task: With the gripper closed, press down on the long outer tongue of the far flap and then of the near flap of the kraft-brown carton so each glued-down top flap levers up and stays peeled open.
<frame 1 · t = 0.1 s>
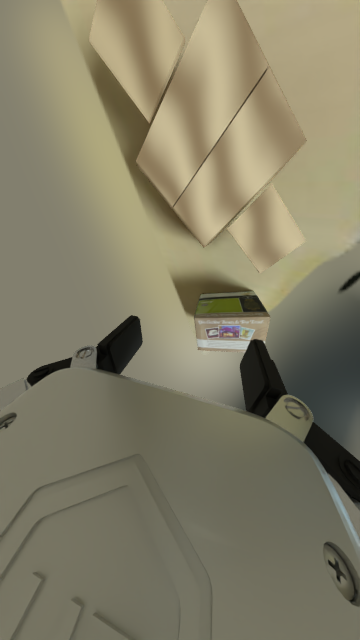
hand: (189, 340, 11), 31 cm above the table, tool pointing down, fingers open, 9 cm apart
carton: (214, 183, 28), on the table
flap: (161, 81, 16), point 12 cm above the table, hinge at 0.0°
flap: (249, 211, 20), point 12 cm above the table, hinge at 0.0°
tea box: (226, 307, 42), on the table
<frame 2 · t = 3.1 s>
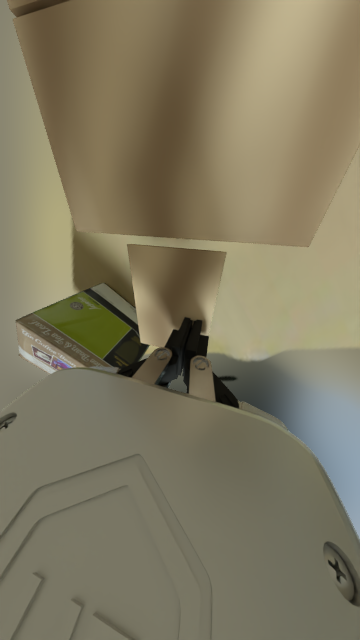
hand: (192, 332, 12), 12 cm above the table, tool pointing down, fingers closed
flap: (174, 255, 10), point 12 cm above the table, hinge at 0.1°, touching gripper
tea box: (125, 318, 31), on the table
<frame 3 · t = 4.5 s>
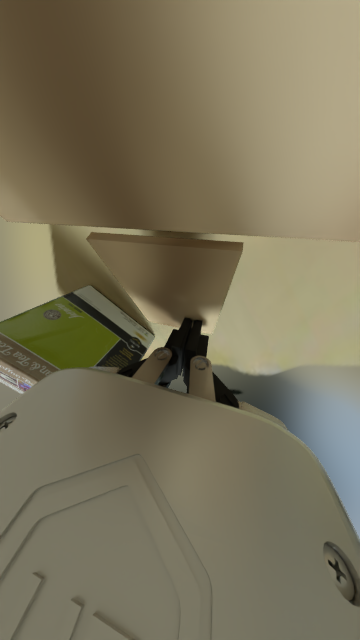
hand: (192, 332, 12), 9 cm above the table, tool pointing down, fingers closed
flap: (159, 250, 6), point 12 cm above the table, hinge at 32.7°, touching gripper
tea box: (117, 325, 28), on the table
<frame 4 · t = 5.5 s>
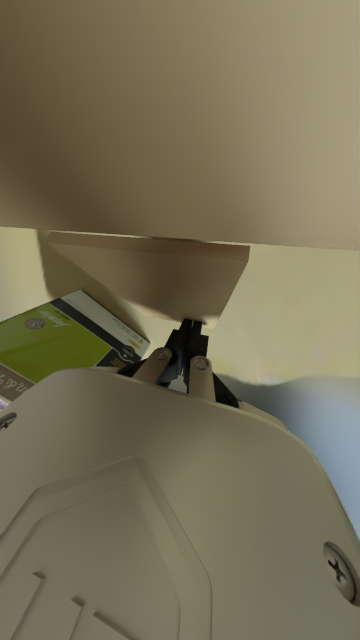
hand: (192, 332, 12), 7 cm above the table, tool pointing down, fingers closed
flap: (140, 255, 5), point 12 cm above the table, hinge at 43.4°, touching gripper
tea box: (110, 331, 26), on the table
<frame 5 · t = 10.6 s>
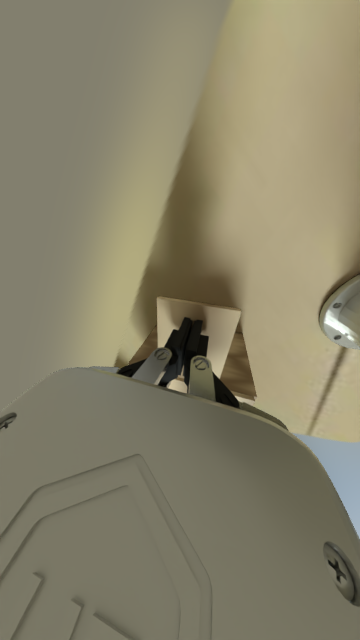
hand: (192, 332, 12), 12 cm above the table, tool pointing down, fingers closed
carton: (195, 354, 31), on the table
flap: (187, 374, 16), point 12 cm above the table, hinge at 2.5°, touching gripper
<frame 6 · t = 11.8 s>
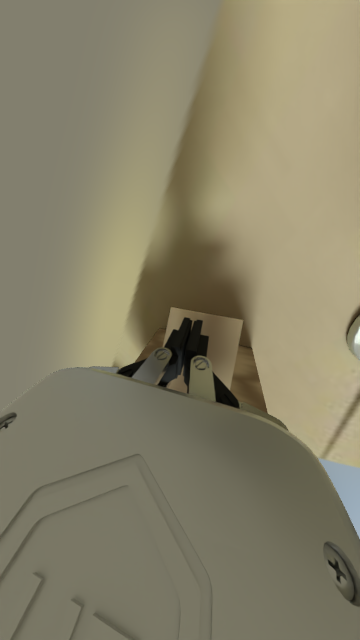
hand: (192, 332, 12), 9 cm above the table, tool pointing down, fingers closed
carton: (196, 367, 28), on the table
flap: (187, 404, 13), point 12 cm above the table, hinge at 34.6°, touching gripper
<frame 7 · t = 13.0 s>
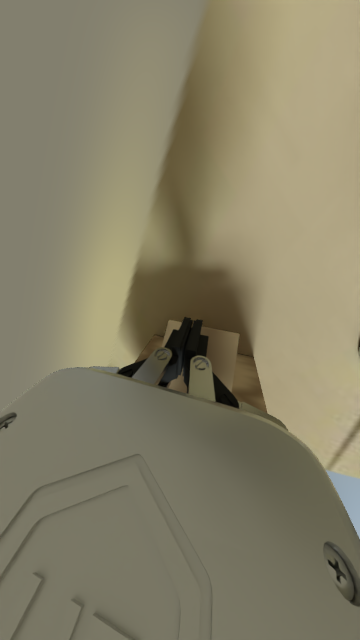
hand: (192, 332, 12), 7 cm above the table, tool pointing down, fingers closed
carton: (194, 376, 26), on the table
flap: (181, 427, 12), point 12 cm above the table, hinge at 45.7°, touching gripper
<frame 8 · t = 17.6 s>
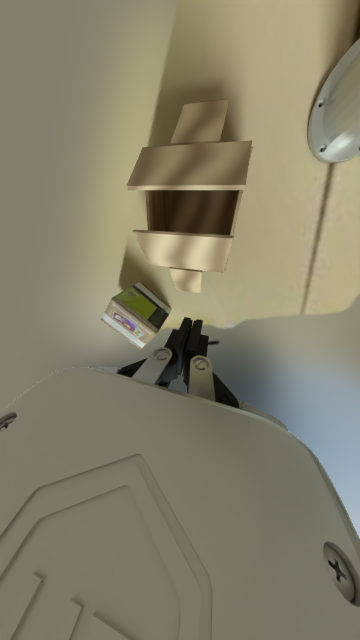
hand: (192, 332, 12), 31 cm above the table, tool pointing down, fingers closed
carton: (198, 224, 34), on the table
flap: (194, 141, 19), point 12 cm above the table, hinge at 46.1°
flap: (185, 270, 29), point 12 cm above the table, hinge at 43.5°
tea box: (149, 304, 50), on the table
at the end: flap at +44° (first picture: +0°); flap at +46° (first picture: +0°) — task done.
